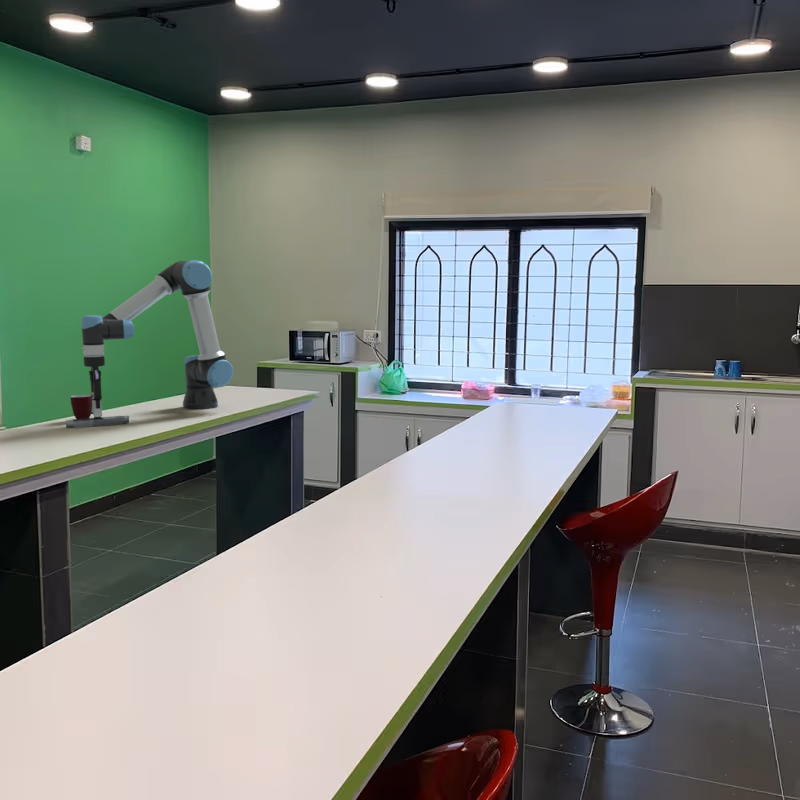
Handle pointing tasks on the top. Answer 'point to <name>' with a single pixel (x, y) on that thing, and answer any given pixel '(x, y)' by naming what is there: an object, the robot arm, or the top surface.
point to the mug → (81, 406)
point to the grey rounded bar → (97, 421)
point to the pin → (93, 407)
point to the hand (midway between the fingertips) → (97, 415)
